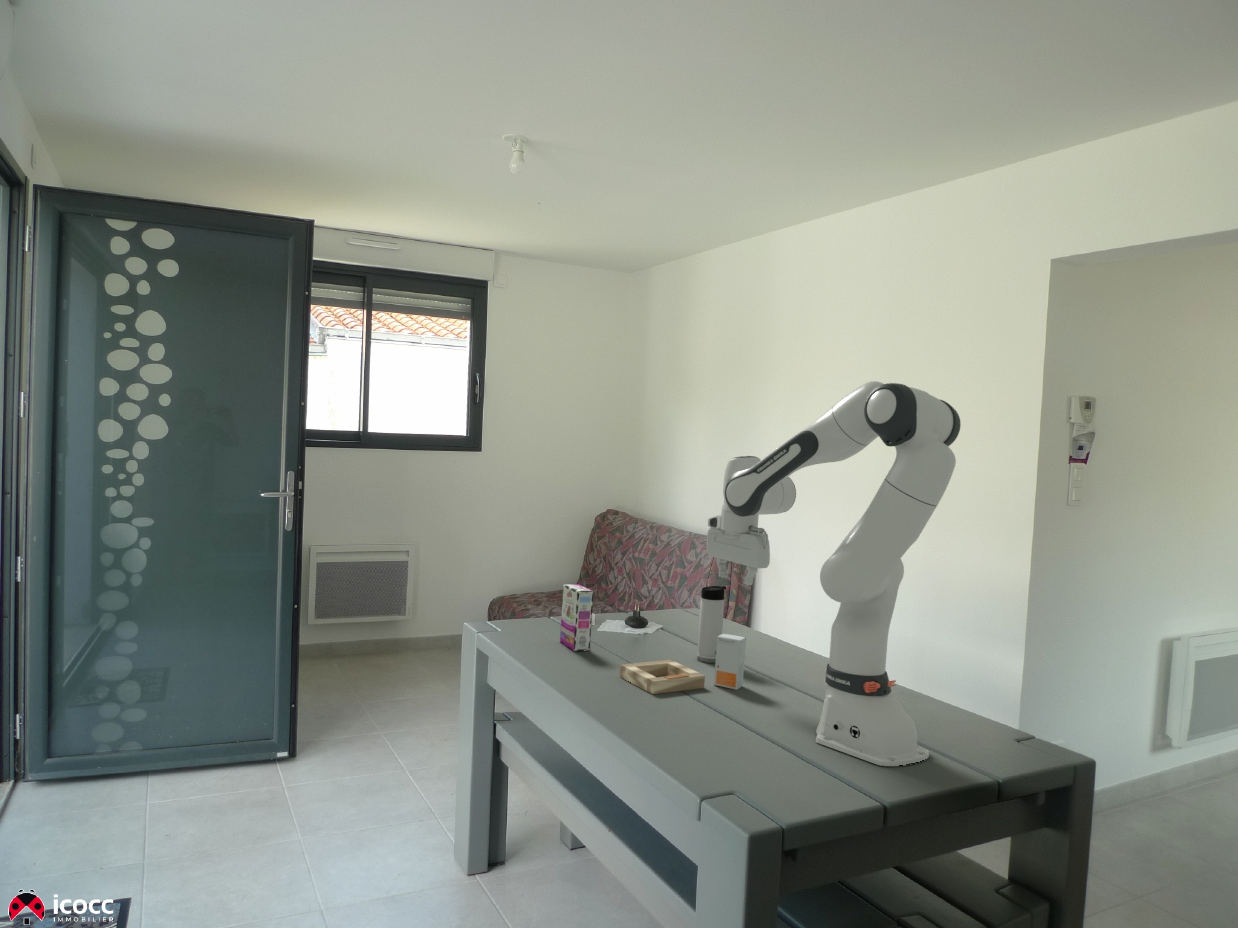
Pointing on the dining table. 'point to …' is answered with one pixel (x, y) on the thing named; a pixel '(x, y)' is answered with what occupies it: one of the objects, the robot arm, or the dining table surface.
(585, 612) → the candy bar box
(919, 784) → the dining table surface
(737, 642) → the skincare box
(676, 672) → the frame
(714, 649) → the travel mug
